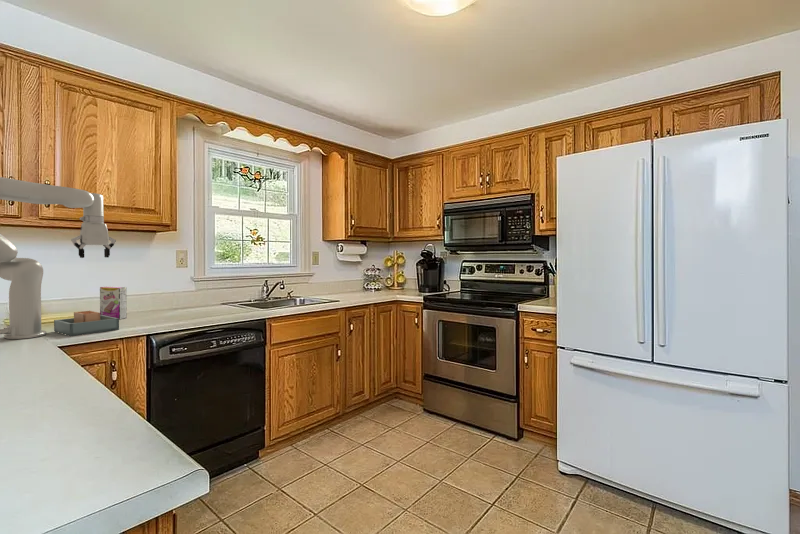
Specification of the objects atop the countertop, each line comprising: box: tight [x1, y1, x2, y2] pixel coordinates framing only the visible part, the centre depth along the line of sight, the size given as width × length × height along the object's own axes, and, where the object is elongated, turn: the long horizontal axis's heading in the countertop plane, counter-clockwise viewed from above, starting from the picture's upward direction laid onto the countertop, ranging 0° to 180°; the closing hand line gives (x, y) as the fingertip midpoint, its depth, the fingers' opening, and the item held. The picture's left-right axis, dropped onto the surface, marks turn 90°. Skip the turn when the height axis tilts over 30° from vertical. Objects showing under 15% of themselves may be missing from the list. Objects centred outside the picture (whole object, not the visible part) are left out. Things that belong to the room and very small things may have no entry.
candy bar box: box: [99, 285, 128, 321], centre depth 209 cm, size 11×5×16 cm, turn 84°
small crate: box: [73, 310, 100, 323], centre depth 178 cm, size 6×10×7 cm, turn 58°
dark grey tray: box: [53, 315, 120, 337], centre depth 178 cm, size 18×16×5 cm
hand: (94, 257), depth 189 cm, fingers open, 9 cm apart
